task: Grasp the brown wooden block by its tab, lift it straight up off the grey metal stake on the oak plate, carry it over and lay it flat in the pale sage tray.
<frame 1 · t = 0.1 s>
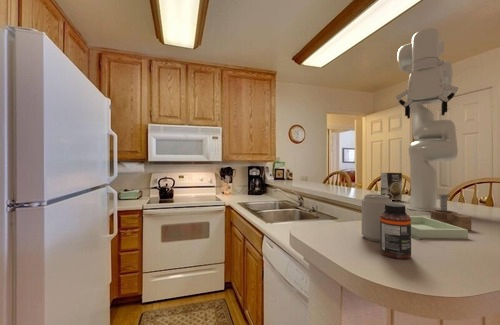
hand: (425, 116, 83), 37 cm above the counter, tool pointing down, fingers open, 9 cm apart
tray: (421, 231, 73), on the counter
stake: (443, 224, 81), on the counter
can: (376, 239, 66), on the counter
brown wooden block: (443, 223, 81), touching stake
supplement bottle: (395, 255, 54), on the counter
coffee box: (391, 200, 138), on the counter
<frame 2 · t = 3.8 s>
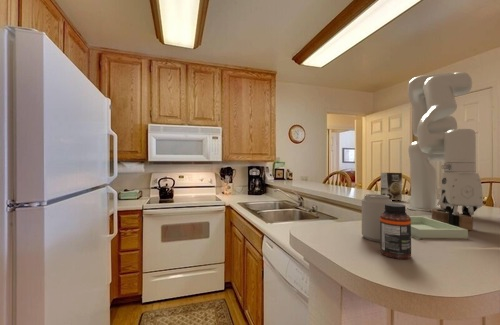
hand: (459, 226, 75), 1 cm above the counter, tool pointing down, fingers closed on brown wooden block, 3 cm apart
brown wooden block: (444, 222, 81), point 1 cm above the counter, touching gripper
everything else where it was.
when the fingers open (3 cm above the counter, at t = 9.5 s): brown wooden block drops 1 cm, resting on tray.
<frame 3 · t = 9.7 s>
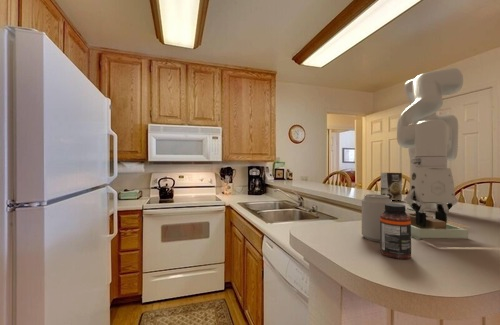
hand: (430, 225, 69), 3 cm above the counter, tool pointing down, fingers open, 5 cm apart
brown wooden block: (418, 228, 74), point 1 cm above the counter, touching tray
everything else where it was.
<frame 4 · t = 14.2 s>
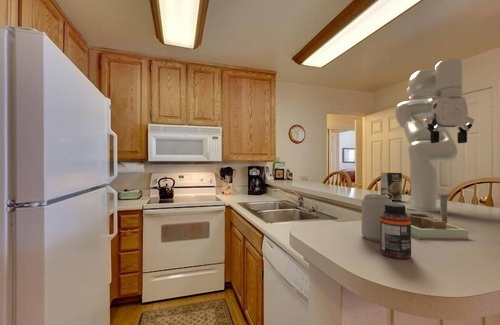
hand: (448, 142, 86), 28 cm above the counter, tool pointing down, fingers open, 9 cm apart
nothing on the counter moved.
at the end: brown wooden block inside the target area on the tray (1.0 cm from its centre), point 0.6 cm above the tray's base; brown wooden block tilted 0°; the gripper is holding nothing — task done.
